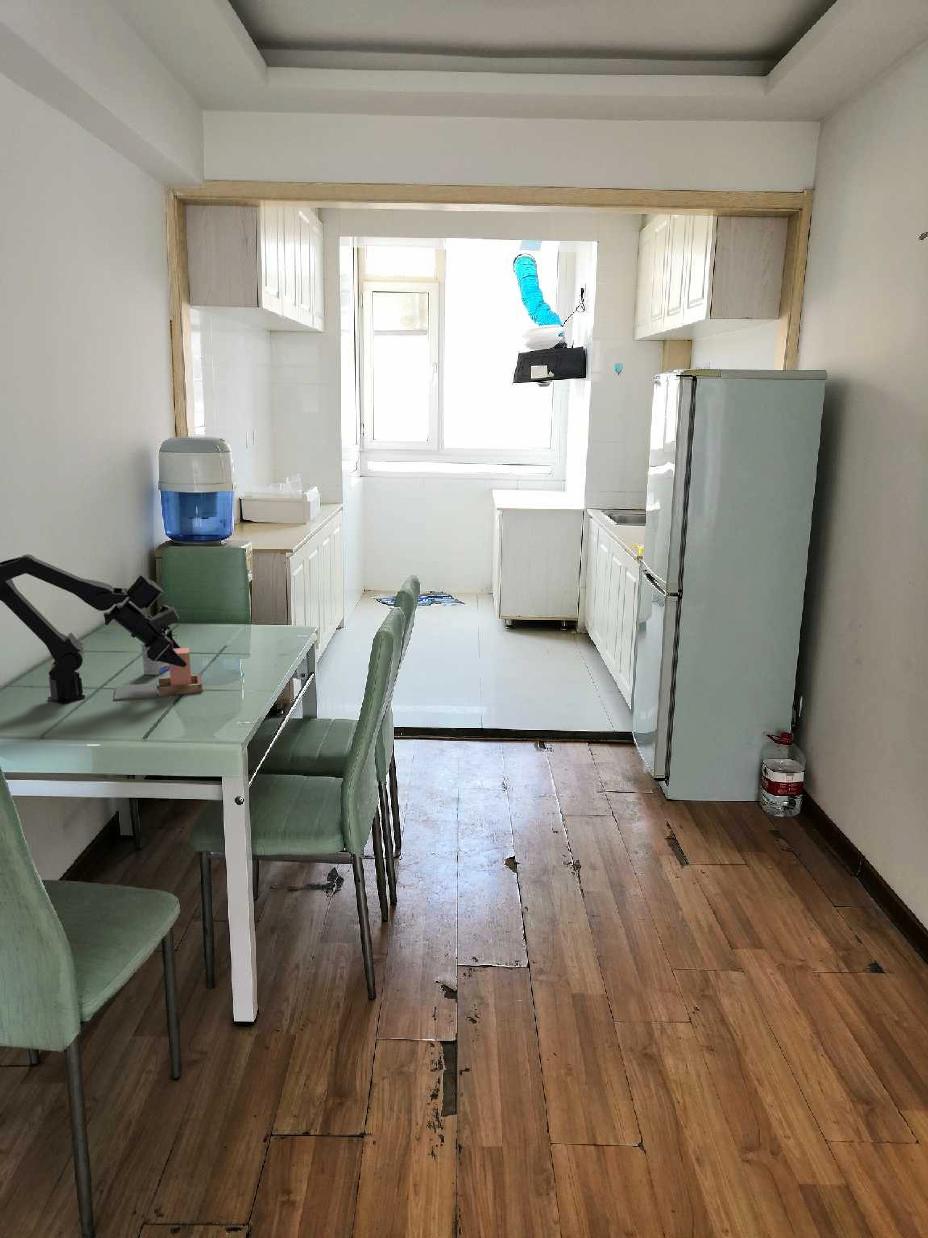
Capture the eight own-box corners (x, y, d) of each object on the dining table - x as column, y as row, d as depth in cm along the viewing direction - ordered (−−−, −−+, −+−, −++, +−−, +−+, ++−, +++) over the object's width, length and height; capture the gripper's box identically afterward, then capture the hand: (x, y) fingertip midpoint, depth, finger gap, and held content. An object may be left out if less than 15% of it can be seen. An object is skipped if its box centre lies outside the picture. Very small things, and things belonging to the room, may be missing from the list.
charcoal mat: (113, 700, 228) (113, 698, 228) (116, 688, 238) (115, 686, 237) (156, 696, 231) (156, 694, 231) (157, 684, 240) (157, 683, 240)
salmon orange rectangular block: (171, 692, 234) (168, 654, 232) (171, 686, 239) (168, 649, 237) (192, 690, 236) (189, 652, 234) (191, 684, 241) (188, 647, 238)
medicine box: (158, 675, 248) (156, 644, 246) (143, 674, 249) (140, 643, 247) (173, 667, 256) (171, 636, 254) (158, 666, 257) (156, 636, 255)
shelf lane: (159, 695, 232) (158, 688, 231) (159, 685, 240) (158, 677, 240) (202, 691, 235) (202, 684, 234) (201, 681, 243) (200, 674, 243)
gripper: (157, 606, 222) (208, 646, 228) (158, 590, 239) (205, 628, 245) (125, 640, 222) (177, 680, 227) (128, 622, 239) (176, 660, 245)
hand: (185, 661), depth 236 cm, fingers open, 9 cm apart
